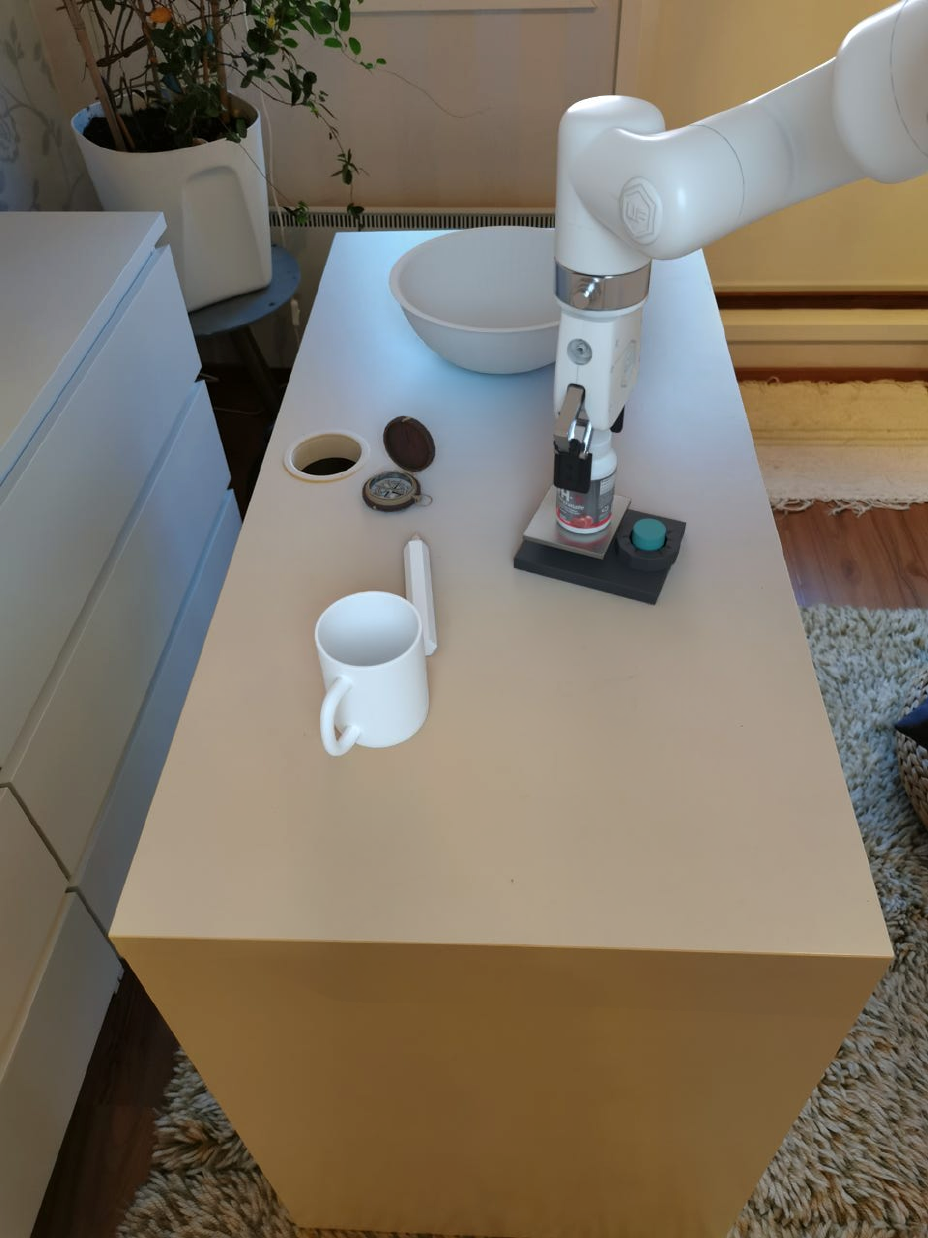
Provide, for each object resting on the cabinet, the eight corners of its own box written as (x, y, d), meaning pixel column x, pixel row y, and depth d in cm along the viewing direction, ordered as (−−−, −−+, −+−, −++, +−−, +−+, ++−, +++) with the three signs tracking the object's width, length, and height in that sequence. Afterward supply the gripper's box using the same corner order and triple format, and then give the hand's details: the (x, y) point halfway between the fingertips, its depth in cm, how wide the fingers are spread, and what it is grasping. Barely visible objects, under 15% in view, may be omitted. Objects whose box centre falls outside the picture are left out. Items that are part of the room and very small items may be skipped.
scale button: (667, 535, 91) (669, 522, 90) (659, 554, 89) (661, 542, 88) (637, 527, 92) (638, 515, 90) (628, 546, 90) (629, 534, 89)
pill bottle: (544, 523, 91) (548, 438, 84) (571, 493, 94) (577, 408, 87) (595, 543, 89) (602, 457, 82) (621, 511, 92) (630, 426, 85)
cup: (446, 691, 81) (440, 607, 74) (380, 800, 74) (366, 719, 67) (362, 663, 84) (348, 579, 77) (289, 765, 77) (266, 683, 69)
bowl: (623, 407, 111) (631, 328, 103) (389, 413, 111) (381, 335, 104) (600, 295, 130) (605, 222, 123) (401, 301, 130) (394, 228, 123)
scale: (689, 534, 95) (693, 510, 93) (659, 606, 88) (663, 583, 86) (551, 501, 99) (552, 478, 97) (513, 568, 92) (513, 544, 90)
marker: (417, 543, 96) (427, 659, 85) (398, 537, 95) (406, 653, 84) (429, 525, 95) (441, 640, 83) (410, 518, 94) (419, 634, 82)
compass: (351, 503, 100) (342, 446, 95) (392, 463, 104) (386, 406, 99) (415, 527, 97) (410, 469, 92) (455, 484, 101) (452, 427, 96)
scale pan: (631, 502, 94) (631, 498, 93) (603, 560, 88) (603, 555, 88) (554, 484, 96) (554, 480, 96) (522, 539, 90) (522, 534, 90)
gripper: (615, 338, 67) (599, 524, 80) (676, 238, 78) (655, 415, 91) (516, 320, 70) (515, 504, 82) (589, 226, 81) (579, 400, 93)
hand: (589, 457), depth 86 cm, fingers open, 9 cm apart
